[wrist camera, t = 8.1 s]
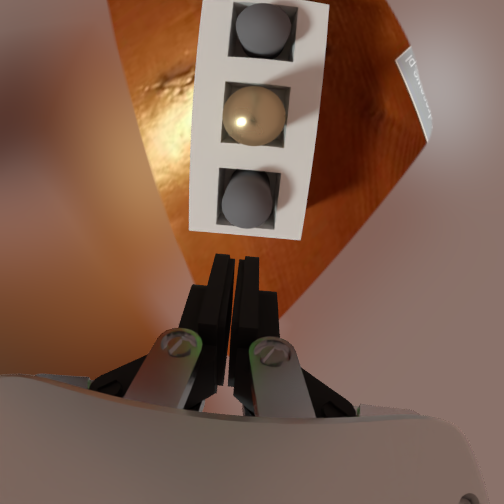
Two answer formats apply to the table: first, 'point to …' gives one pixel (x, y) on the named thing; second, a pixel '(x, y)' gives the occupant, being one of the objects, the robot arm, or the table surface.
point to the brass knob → (253, 116)
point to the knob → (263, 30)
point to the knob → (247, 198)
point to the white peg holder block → (279, 82)
